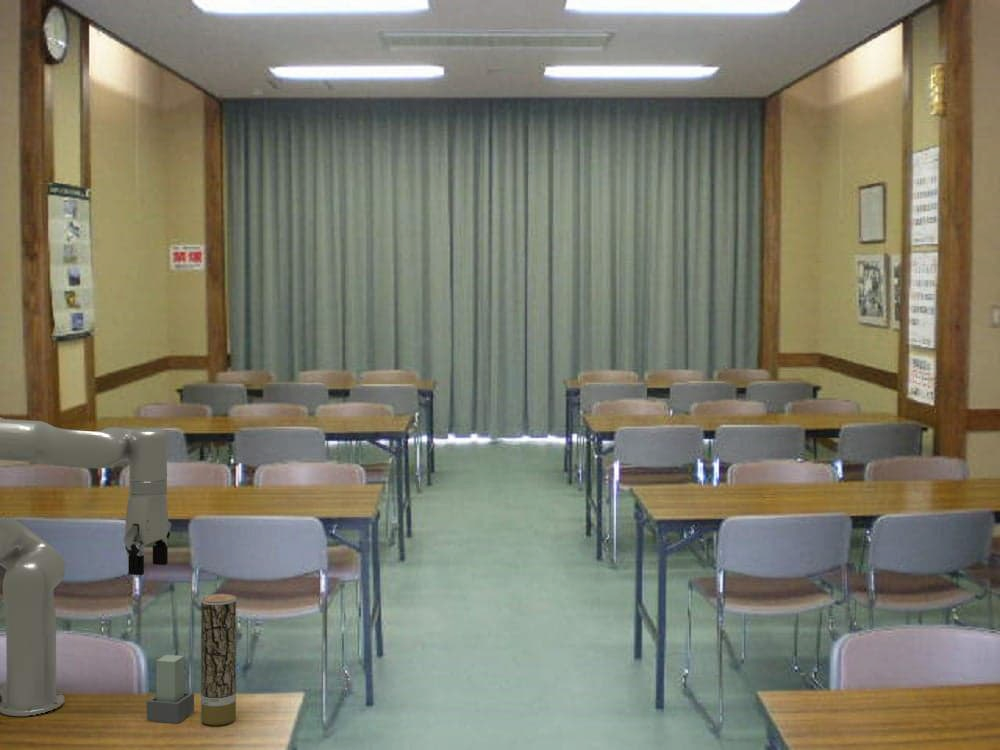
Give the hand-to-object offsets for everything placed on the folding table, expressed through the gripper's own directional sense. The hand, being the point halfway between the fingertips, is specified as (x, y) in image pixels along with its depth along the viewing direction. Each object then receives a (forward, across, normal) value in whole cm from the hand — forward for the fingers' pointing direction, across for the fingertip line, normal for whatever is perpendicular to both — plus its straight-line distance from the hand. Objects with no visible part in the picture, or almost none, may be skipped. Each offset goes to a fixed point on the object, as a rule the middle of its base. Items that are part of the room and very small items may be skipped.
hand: (148, 569), depth 232 cm
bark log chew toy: (+28, +6, +19) cm, 35 cm away
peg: (+28, +6, +8) cm, 30 cm away
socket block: (+28, +6, +8) cm, 30 cm away
